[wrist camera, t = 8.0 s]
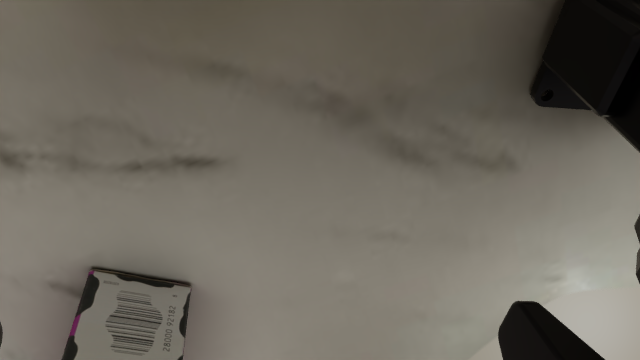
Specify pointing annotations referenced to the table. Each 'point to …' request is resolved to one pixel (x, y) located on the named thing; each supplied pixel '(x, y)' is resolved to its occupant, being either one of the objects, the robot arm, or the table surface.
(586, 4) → the robot arm
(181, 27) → the table surface
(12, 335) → the table surface
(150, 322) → the candy bar box
